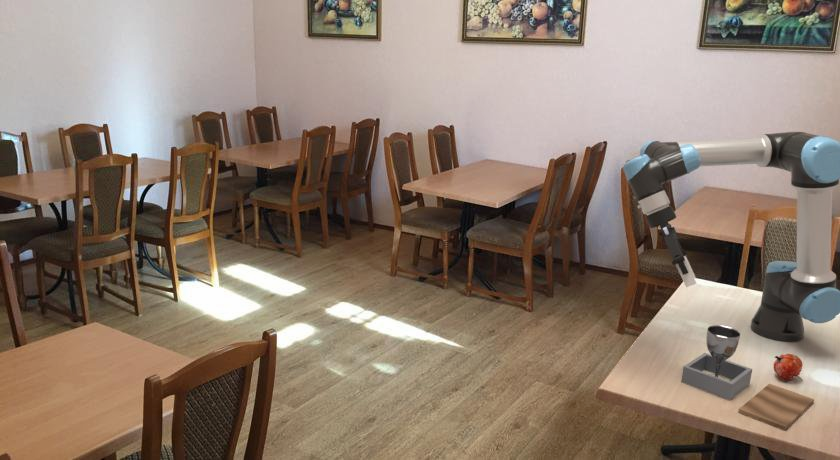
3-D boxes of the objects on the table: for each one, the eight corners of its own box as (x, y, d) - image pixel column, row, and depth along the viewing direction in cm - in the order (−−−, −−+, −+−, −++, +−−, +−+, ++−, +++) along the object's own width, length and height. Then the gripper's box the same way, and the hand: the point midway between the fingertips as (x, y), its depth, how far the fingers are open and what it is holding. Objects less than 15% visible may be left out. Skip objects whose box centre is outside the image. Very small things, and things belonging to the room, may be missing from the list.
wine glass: (734, 392, 183) (743, 339, 179) (702, 388, 185) (710, 335, 181) (727, 378, 191) (736, 327, 187) (697, 374, 192) (705, 323, 188)
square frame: (702, 367, 197) (704, 352, 195) (749, 384, 188) (752, 369, 187) (680, 381, 188) (683, 366, 187) (729, 400, 179) (732, 384, 178)
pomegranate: (790, 380, 196) (763, 356, 196) (813, 366, 192) (785, 341, 193) (792, 395, 189) (764, 369, 190) (815, 380, 186) (787, 354, 186)
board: (768, 386, 187) (769, 383, 187) (813, 402, 179) (814, 399, 179) (738, 412, 173) (738, 408, 173) (785, 430, 166) (785, 426, 165)
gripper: (646, 214, 204) (678, 281, 202) (641, 217, 181) (677, 293, 179) (671, 203, 201) (703, 271, 199) (669, 205, 178) (706, 282, 176)
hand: (691, 282), depth 189 cm, fingers open, 13 cm apart
